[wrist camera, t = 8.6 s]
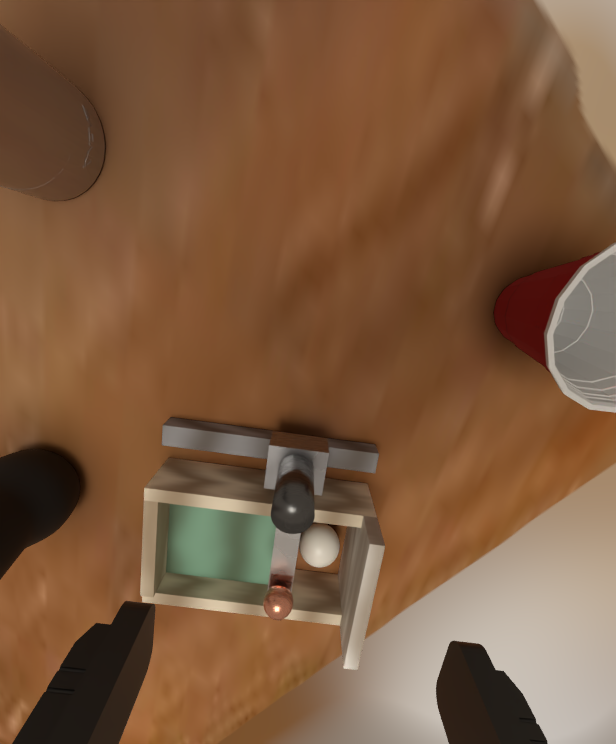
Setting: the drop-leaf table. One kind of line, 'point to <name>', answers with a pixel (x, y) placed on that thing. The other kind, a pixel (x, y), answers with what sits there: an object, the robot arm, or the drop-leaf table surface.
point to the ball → (319, 545)
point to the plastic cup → (568, 325)
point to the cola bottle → (33, 500)
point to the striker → (291, 508)
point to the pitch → (254, 533)
